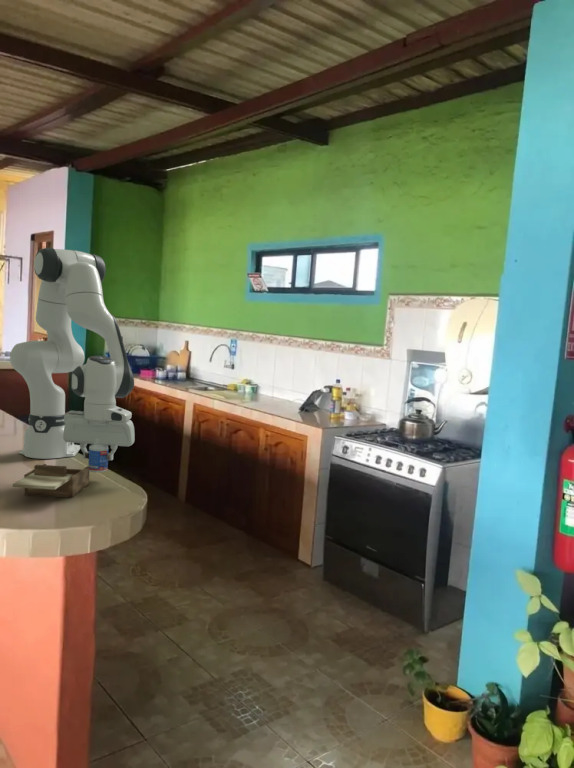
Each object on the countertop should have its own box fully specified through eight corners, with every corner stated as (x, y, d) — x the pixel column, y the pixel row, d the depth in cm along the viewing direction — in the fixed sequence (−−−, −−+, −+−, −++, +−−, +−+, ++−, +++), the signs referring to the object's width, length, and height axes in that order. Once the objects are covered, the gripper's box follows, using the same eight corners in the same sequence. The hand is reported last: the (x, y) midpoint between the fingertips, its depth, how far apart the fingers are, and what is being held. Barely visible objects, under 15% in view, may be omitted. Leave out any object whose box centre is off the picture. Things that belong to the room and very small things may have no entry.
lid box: (43, 482, 182) (44, 464, 181) (88, 485, 181) (89, 466, 181) (24, 494, 169) (24, 474, 168) (72, 497, 169) (72, 477, 168)
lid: (34, 474, 172) (34, 463, 172) (73, 477, 172) (73, 465, 172) (12, 487, 159) (12, 474, 159) (55, 489, 159) (55, 476, 159)
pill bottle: (101, 473, 183) (102, 440, 182) (84, 471, 184) (85, 438, 183) (110, 469, 188) (111, 437, 187) (94, 467, 189) (95, 435, 188)
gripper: (60, 411, 181) (59, 458, 183) (131, 416, 181) (129, 463, 182) (68, 408, 187) (67, 454, 189) (137, 413, 187) (135, 459, 188)
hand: (98, 459), depth 186 cm, fingers closed on pill bottle, 5 cm apart
